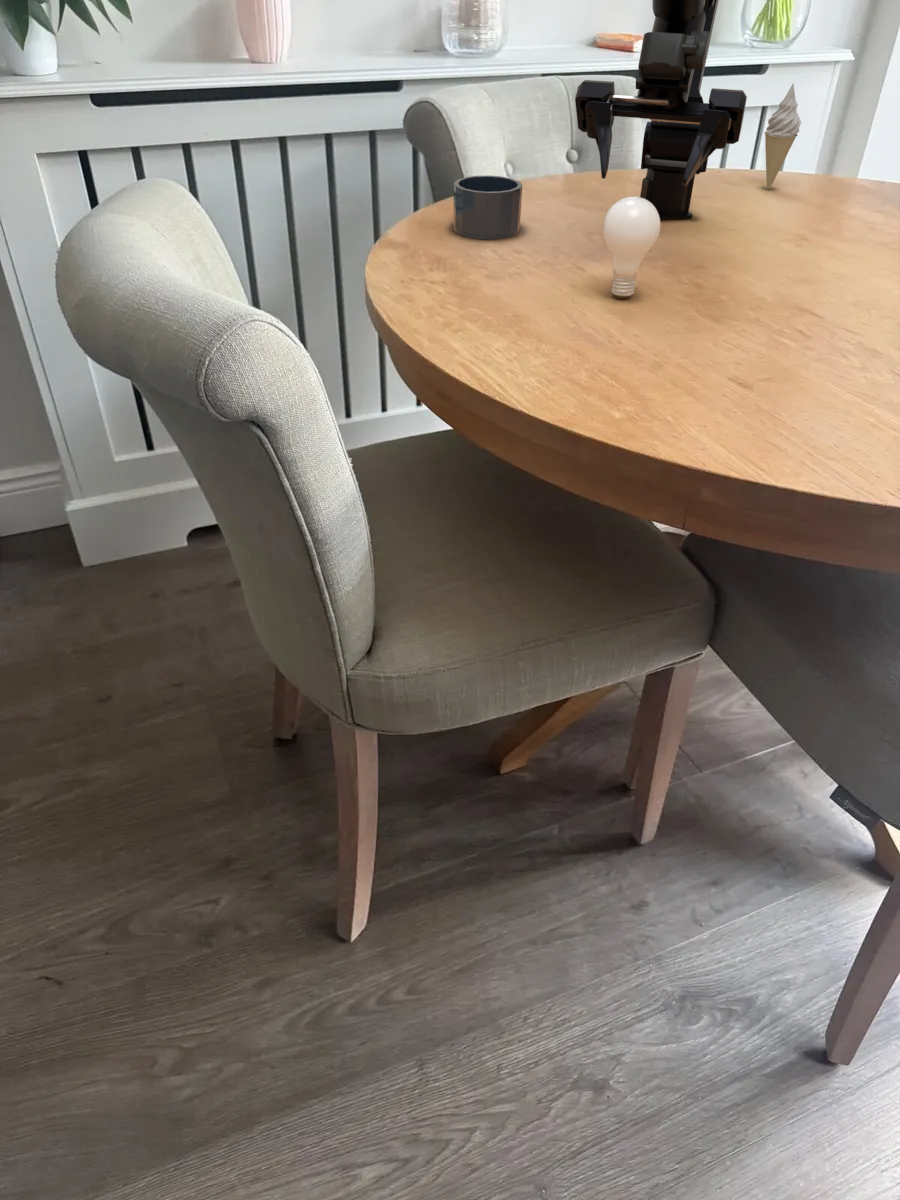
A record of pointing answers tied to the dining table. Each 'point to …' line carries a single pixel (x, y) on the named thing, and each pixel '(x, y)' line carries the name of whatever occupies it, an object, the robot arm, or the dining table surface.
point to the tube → (487, 207)
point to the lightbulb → (629, 239)
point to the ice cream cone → (781, 135)
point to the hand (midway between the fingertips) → (643, 180)
